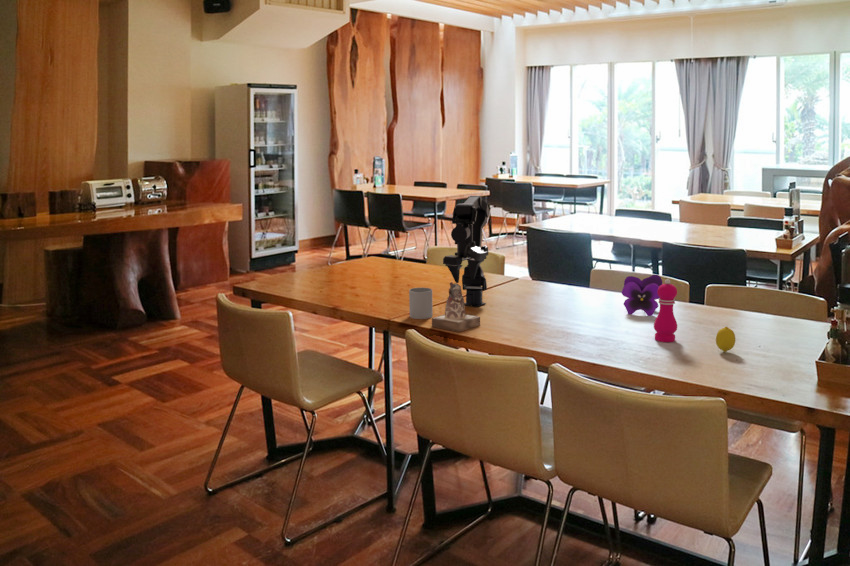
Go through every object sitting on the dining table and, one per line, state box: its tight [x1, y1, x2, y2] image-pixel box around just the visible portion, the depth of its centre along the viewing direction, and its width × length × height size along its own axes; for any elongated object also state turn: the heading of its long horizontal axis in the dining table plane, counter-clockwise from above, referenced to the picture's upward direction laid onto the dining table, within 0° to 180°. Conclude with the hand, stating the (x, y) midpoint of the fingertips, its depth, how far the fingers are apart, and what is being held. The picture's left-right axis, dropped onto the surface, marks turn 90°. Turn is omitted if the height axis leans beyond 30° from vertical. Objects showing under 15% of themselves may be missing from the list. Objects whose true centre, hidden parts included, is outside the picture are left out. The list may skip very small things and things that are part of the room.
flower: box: [621, 274, 663, 317], centre depth 287 cm, size 15×15×14 cm
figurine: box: [444, 281, 467, 319], centre depth 268 cm, size 7×7×12 cm
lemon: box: [715, 326, 736, 353], centre depth 233 cm, size 6×6×8 cm
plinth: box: [431, 313, 481, 333], centre depth 269 cm, size 12×12×3 cm
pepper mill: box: [653, 278, 678, 343], centre depth 246 cm, size 7×7×20 cm
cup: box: [408, 287, 433, 320], centre depth 282 cm, size 8×8×10 cm
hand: (465, 280), depth 281 cm, fingers open, 9 cm apart
